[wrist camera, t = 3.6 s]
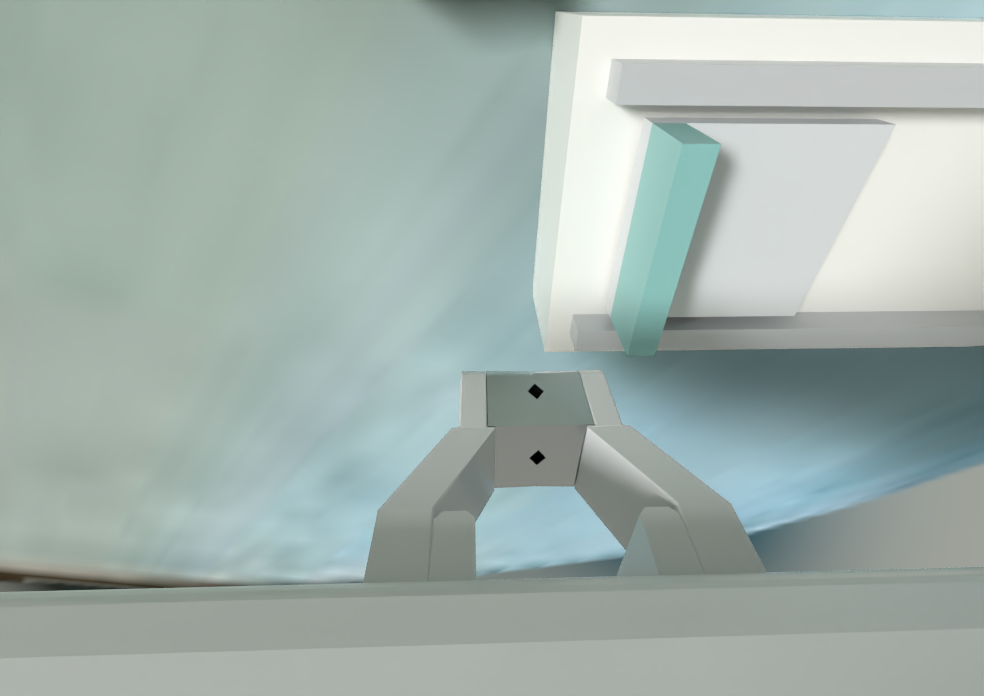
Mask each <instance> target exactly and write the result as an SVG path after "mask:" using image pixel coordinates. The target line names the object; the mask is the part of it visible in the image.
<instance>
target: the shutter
mask: <svg viewBox="0 0 984 696" xmlns="http://www.w3.org/2000/svg"><path fill="white" fill-rule="evenodd" d="M895 126H896V124H892V123H889V122H886V121H882V120H879V119H815V118H674V117H644V121H643V126H642V130H641V135H640V140H639V145H638V150H637V155H636V160H635V165H634V169H633V174H632V179H631V184H630V189H629V194H628V199H627V204H626V209H625V213H624V218H623V223H622V228H621V233H620V238H619V243H618V248H617V252H616V257H615V262H614V267H613V272H612V277H611V282H610V287H609V291H608V296H607V301H606V306H605V307H606V309H607V312H608V314H609V316H610V318H611V321H612V323H613V325H614V328H615V330H616V332H617V335H618V337H619V339H620V341H621V344H622V346H623V348H624V351H625V353H626V355H627V356H655V354H656V351H657V348H658V345H659V341H660V338H661V335H662V332H663V329H664V325H665V322H666V319H667V317H737V316H795V315H796V313H797V311H798V309H799V307H800V305H801V303H802V302H803V300H804V298H805V296H806V294H807V292H808V290H809V288H810V286H811V285H812V283H813V281H814V279H815V277H816V275H817V273H818V271H819V269H820V267H821V266H822V264H823V262H824V260H825V258H826V256H827V254H828V252H829V250H830V249H831V247H832V245H833V243H834V241H835V239H836V237H837V235H838V233H839V232H840V230H841V228H842V226H843V224H844V222H845V220H846V218H847V216H848V215H849V213H850V211H851V209H852V207H853V205H854V203H855V201H856V199H857V198H858V196H859V194H860V192H861V190H862V188H863V186H864V184H865V182H866V181H867V179H868V177H869V175H870V173H871V171H872V169H873V167H874V165H875V164H876V162H877V160H878V158H879V156H880V154H881V152H882V150H883V148H884V147H885V145H886V143H887V141H888V139H889V137H890V135H891V133H892V131H893V129H894V128H895Z"/></svg>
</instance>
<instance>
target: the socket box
mask: <svg viewBox="0 0 984 696" xmlns="http://www.w3.org/2000/svg"><path fill="white" fill-rule="evenodd" d="M644 117H674V118H815V119H879V120H882V121H886V122H889V123H892V124H896V126H895V128H894V129H893V131H892V133H891V135H890V137H889V139H888V141H887V143H886V145H885V147H884V148H883V150H882V152H881V154H880V156H879V158H878V160H877V162H876V164H875V165H874V167H873V169H872V171H871V173H870V175H869V177H868V179H867V181H866V182H865V184H864V186H863V188H862V190H861V192H860V194H859V196H858V198H857V199H856V201H855V203H854V205H853V207H852V209H851V211H850V213H849V215H848V216H847V218H846V220H845V222H844V224H843V226H842V228H841V230H840V232H839V233H838V235H837V237H836V239H835V241H834V243H833V245H832V247H831V249H830V250H829V252H828V254H827V256H826V258H825V260H824V262H823V264H822V266H821V267H820V269H819V271H818V273H817V275H816V277H815V279H814V281H813V283H812V285H811V286H810V288H809V290H808V292H807V294H806V296H805V298H804V300H803V302H802V303H801V305H800V307H799V309H798V311H797V313H796V315H795V316H737V317H667V319H666V322H665V325H664V329H663V332H662V335H661V338H660V341H659V345H658V348H657V350H730V349H807V348H884V347H962V346H984V18H940V17H878V16H816V15H754V14H692V13H630V12H568V11H556V12H555V24H554V37H553V49H552V61H551V73H550V86H549V98H548V110H547V122H546V135H545V147H544V159H543V171H542V183H541V196H540V208H539V220H538V232H537V245H536V257H535V269H534V281H533V298H534V303H535V308H536V312H537V317H538V322H539V327H540V331H541V336H542V341H543V346H544V351H545V352H575V351H624V348H623V346H622V344H621V341H620V339H619V337H618V335H617V332H616V330H615V328H614V325H613V323H612V321H611V318H610V316H609V314H608V312H607V309H606V307H605V306H606V301H607V296H608V291H609V287H610V282H611V277H612V272H613V267H614V262H615V257H616V252H617V248H618V243H619V238H620V233H621V228H622V223H623V218H624V213H625V209H626V204H627V199H628V194H629V189H630V184H631V179H632V174H633V169H634V165H635V160H636V155H637V150H638V145H639V140H640V135H641V130H642V126H643V121H644Z"/></svg>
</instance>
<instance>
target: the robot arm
mask: <svg viewBox="0 0 984 696" xmlns="http://www.w3.org/2000/svg"><path fill="white" fill-rule="evenodd" d="M525 486H575V489H576V491H577V492H578V493H579V494H580V495H581V497H582V498H583V499H584V500H585V501H586V503H587V504H588V505H589V506H590V507H591V509H592V510H593V511H594V512H595V514H596V515H597V516H598V517H599V518H600V520H601V521H602V522H603V523H604V524H605V526H606V527H607V528H608V529H609V530H610V532H611V533H612V534H613V535H614V537H615V538H616V539H617V540H618V541H619V543H620V544H621V545H622V546H623V547H624V549H625V550H626V552H625V555H624V558H623V560H622V563H621V566H620V568H619V571H618V573H617V576H616V577H579V578H542V579H508V580H507V579H505V580H476V544H475V522H476V520H477V519H478V517H479V515H480V514H481V512H482V510H483V509H484V507H485V505H486V503H487V502H488V500H489V498H490V497H491V495H492V493H493V492H494V488H503V487H525ZM0 696H984V567H969V568H967V567H966V568H929V569H928V568H927V569H890V570H850V571H815V572H814V571H813V572H812V571H811V572H774V573H773V572H772V573H767V572H766V570H765V568H764V566H763V564H762V562H761V560H760V559H759V557H758V555H757V553H756V551H755V549H754V547H753V545H752V543H751V541H750V539H749V537H748V535H747V533H746V532H745V530H744V528H743V526H742V524H741V522H740V520H739V518H738V516H737V514H736V512H735V510H734V509H733V507H732V505H731V503H729V502H728V501H727V500H725V499H724V498H723V497H722V496H720V495H719V494H718V493H716V492H715V491H714V490H713V489H711V488H710V487H709V486H707V485H706V484H705V483H704V482H702V481H701V480H700V479H698V478H697V477H696V476H695V475H693V474H692V473H691V472H689V471H688V470H687V469H686V468H684V467H683V466H682V465H680V464H679V463H678V462H677V461H675V460H674V459H673V458H671V457H670V456H669V455H668V454H666V453H665V452H664V451H662V450H661V449H660V448H659V447H657V446H656V445H655V444H653V443H652V442H651V441H650V440H648V439H647V438H646V437H645V436H643V435H642V434H641V433H639V432H638V431H637V430H636V429H634V428H633V427H632V426H630V425H623V424H622V421H621V419H620V416H619V413H618V411H617V408H616V405H615V402H614V400H613V397H612V394H611V391H610V389H609V386H608V383H607V381H606V378H605V375H604V373H603V372H602V371H601V370H578V371H549V372H511V371H486V373H485V372H478V371H462V374H461V386H460V412H459V428H451V429H450V430H449V432H448V433H447V434H446V435H445V436H444V437H443V438H442V439H441V440H440V442H439V443H438V444H437V445H436V446H435V447H434V448H433V449H432V450H431V452H430V453H429V454H428V455H427V456H426V457H425V458H424V459H423V461H422V462H421V463H420V464H419V465H418V466H417V467H416V468H415V469H414V471H413V472H412V473H411V474H410V475H409V476H408V477H407V478H406V480H405V481H404V482H403V483H402V484H401V485H400V486H399V487H398V488H397V490H396V491H395V492H394V493H393V494H392V495H391V496H390V497H389V499H388V500H387V501H386V502H385V503H384V504H383V505H382V506H381V507H380V509H379V510H378V513H377V518H376V523H375V527H374V532H373V537H372V542H371V547H370V552H369V557H368V562H367V567H366V572H365V577H364V582H363V583H349V584H310V585H270V586H231V587H192V588H151V589H112V590H75V591H74V590H72V591H33V592H32V591H30V592H0Z"/></svg>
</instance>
